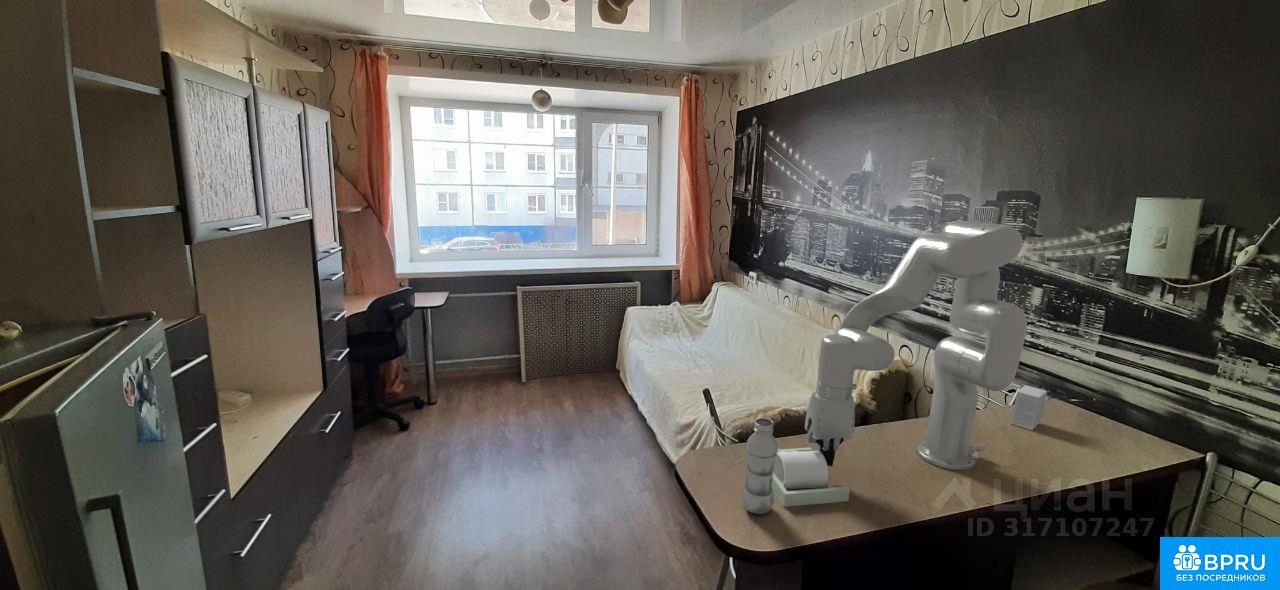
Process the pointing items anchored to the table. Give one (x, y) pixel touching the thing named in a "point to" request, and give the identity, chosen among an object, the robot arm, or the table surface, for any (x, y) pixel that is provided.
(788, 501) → the green u-shaped bracket
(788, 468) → the mug
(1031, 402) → the small box
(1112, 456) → the table surface
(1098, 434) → the table surface
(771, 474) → the plastic bottle
